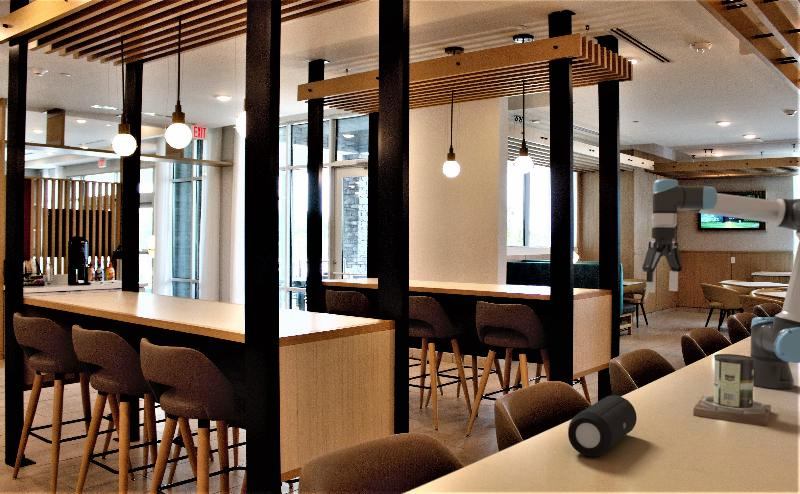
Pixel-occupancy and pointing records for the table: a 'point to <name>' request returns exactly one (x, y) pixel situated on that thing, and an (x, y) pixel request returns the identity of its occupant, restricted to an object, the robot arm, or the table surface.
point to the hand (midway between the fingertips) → (662, 291)
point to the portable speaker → (601, 425)
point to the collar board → (733, 411)
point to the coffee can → (733, 381)
